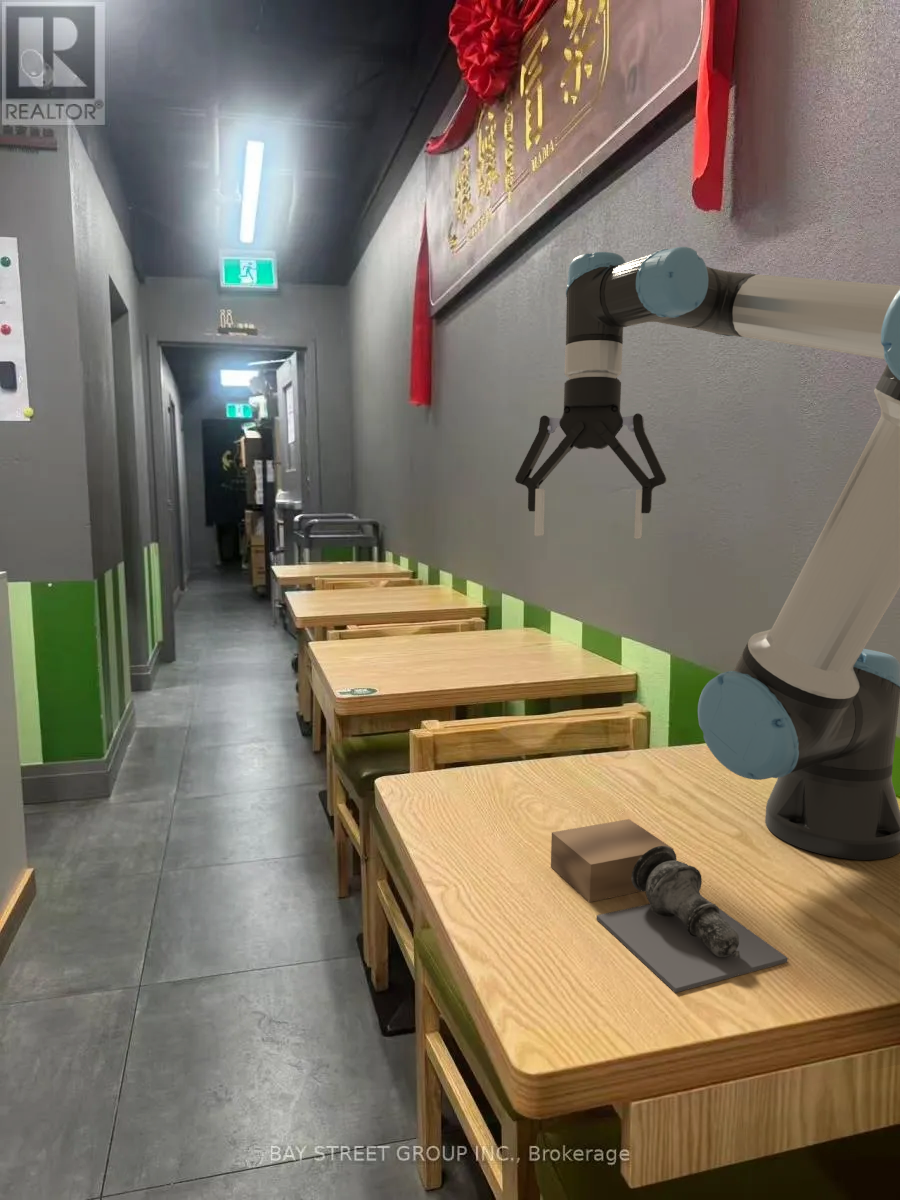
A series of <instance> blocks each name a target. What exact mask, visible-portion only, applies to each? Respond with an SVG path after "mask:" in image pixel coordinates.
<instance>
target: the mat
mask: <svg viewBox="0 0 900 1200" xmlns="http://www.w3.org/2000/svg"><path fill="white" fill-rule="evenodd" d="M705 899H706V900H707V901H708V902H709V903H712V902H711V901H709V900H708V899H707V898H705ZM719 915H720V916H721V917H722V918H723V919H724V920H725V921H726V922H727V923H728V924H729V925H730V926H731V927H732V928H733V929H734V930H735V931H736V932H737V934H738V936H739V945H738V948H737V950H736V951H739V954H740V958H736V957H733V954H732V955H730V956H727V957H718V956H716V955H715V954H714V953H712V951H711V950H710V949H709V948H708V947H707V946H706V945H705V944H704V943H703V942H702V941H701V940H700V939H699V937H698V936H696V937H695V936H692V935H690V934H689V933H688V931H687V926H686V925H685V924H684V923H683V921H682V920H681V919H680V918H679V917H678V916H673V917H669V918H662V917H658V916H657V915H655V914H654V913H653V911H652V909H651V905H650V903H647V904H641V905H638V906H633V907H629V908H624V909H620V910H615V911H611V912H606V913H601V914H597V915H596V921H598V922H599V923H600V924H601V925H602V926H603V927H604V928H605V929H606V930H607V931H608V932H609V933H610V934H612V935H613V936H614V938H616V939H617V940H618V942H619V941H620V943H621V944H623V945H624V947H626V949H628V950H629V951H630V952H631V953H632V954H633V955H634V956H635V957H636V958H637V959H638V960H640V961H641V962H642V963H643V964H644V965H645V967H647V968H648V969H649V970H651V971H652V973H653V974H654V975H656V977H658V978H659V979H660V980H661V981H662V982H663V983H664V984H665V985H666V986H667V987H669V989H670V990H672V991H673V992H674V993H680V992H684V991H687V990H691V989H694V988H698V987H702V986H705V985H708V984H712V983H716V982H720V981H724V980H727V979H730V978H735V977H738V976H741V975H745V974H749V973H752V972H753V973H754V972H757V971H759V970H760V971H761V970H764V969H767V968H771V967H774V966H778V965H782V964H785V963H788V961H789V958H788V957H787V956H786V955H784V954H783V953H782V952H780V951H779V950H778V949H776V948H775V947H774V946H772V945H771V944H769V943H768V942H766V941H765V940H764V939H762V937H759V935H757V934H755V933H754V932H753V931H751V930H750V929H748V928H747V927H745V926H744V925H743V924H742V923H740V922H739V921H738V920H736V919H734V918H733V917H732V916H731V915H729V914H728V913H726V912H725V911H723V910H722V909H721V908H719Z"/></svg>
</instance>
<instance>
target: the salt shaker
mask: <svg viewBox="0 0 900 1200" xmlns="http://www.w3.org/2000/svg"><path fill="white" fill-rule="evenodd" d="M670 847H671V846H670ZM670 847H667V846H658V847H654V848H652V849H650V850H649V851H647V852H646V853H645V854H643V855H642V856H641V858H640V859H639V860H638V861H637V863H636V864H635V866H634V868H633V871H632V876H631V880H632V884H633V886H634V887H635V888H636V889H637V890H639V891H640V892H645V896H646V897H647V901H648V904H650V905H651V909H652V911H653V913H654V914H655V915H657V916H658V917H662V918H669V917H673V916H678V917H679V918H680V919H681V920H682V921H683V923H684V924H685V925H686V926H687V931H688V933H689V934H690V935H692V936H695V937H696V936H698V937H699V939H700V940H701V941H702V942H703V943H704V944H705V945H706V946H707V947H708V948H709V949H710V950H711V951H712V953H714V954H715V955H716V956H718V957H727V956H730V955H732V954H733V957H736V958H740V954H739V951H736V950H737V948H738V945H739V936H738V934H737V932H736V931H735V930H734V929H733V928H732V927H731V926H730V925H729V924H728V923H727V922H726V921H725V920H724V919H723V918H722V917H721V916H720V915H719V909H720V908H719V907H718V906H717V905H716V904H715V903H713V902H711V903H709V902H708V901H709V900H708V899H707V898H705V897H704V896H703V895H702V894H701V889H702V883H703V879H702V874H701V872H700V870H699V869H698V868H697V867H695V866H692V865H688V864H687V863H685V862H682V861H680V860H677V854H676V852H675V850H674V849H673V850H672V849H671V848H670ZM706 899H707V900H708V901H707V900H706Z"/></svg>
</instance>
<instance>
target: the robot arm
mask: <svg viewBox="0 0 900 1200" xmlns="http://www.w3.org/2000/svg"><path fill="white" fill-rule="evenodd" d="M567 274H568V275H567V285H566V289H565V296H566V311H565V312H566V313H565V314H566V315H565V316H566V317H565V319H566V320H565V321H566V323H565V324H566V325H565V348H564V349H565V351H564V352H565V353H564V375H565V377H567V378H568V379H567V380H566V381H565V382H564V385H563V386H564V388H563V389H564V390H563V392H564V393H563V413H562V415H561V417H550V416H547V415H542V416H541V417H540V418H539V425H538V430H537V431H538V432H537V434H536V436H535V437H534V440H533V442H532V444H531V446H530V448H529V450H528V451H527V453H526V456H525V457H524V460H523V462H522V464H521V465H520V468H519V469H518V471H517V474H516V475H515V478H514V479H515V483H516V484H520V485H522V486H525V487H526V488H527V490H528V491H527V499H528V500H527V509H528V512H534V532H533V533H534V534H533V535H534V537H542V536H544V535H545V534H544V533H545V531H544V530H545V499H546V498H545V497H546V496H545V495H546V490H545V488H540V487H541V485H542V484H543V482H545V480H546V479H547V478H549V477H548V476H549V475H551V473H552V472H553V471H554V470H555V468H556V467H558V466H559V464H560V462H562V460H563V459H564V458H565V457H566V455H567V454H568V453H570V452H571V450H572V449H574V448H576V449H578V450H589V449H595V450H604V449H605V448H607V447H609V448H610V449H611V451H613V453H614V454H615V455H616V456H617V457H618V459H619V460H620V461H621V462H622V464H623V465H624V466H625V467H626V469H627V470H628V471H629V472H630V473H631V475H632V476H633V477H634V478H635V479H636V481H637V482H638V483H639V484H640V486H641V489H635V507H634V509H635V510H634V511H635V513H634V532H633V533H634V534H633V539H638V540H640V539H642V536H643V535H642V534H643V517H644V516H643V515H644V514H650V513H651V511H652V497H653V490H654V489H655V488H656V487H659V486H661V485H664V484H666V483H667V476H666V474H665V473H664V470H663V468H662V466H661V463H660V462H659V460H658V458H657V454H656V453H655V451H654V449H653V446H652V444H651V442H650V440H649V439H648V438H649V437H648V436H647V434H646V431H645V430H646V429H645V419H644V416H643V415H642V414H641V413H638V412H637V413H635V414H634V415H629V416H622V414H621V394H622V393H621V392H622V382H621V380H620V379H618V377H619V376H621V374H622V373H623V372H622V367H623V364H622V363H623V343H624V341H623V339H624V338H623V337H624V328H627V327H631V326H635V325H640V324H645V323H659V324H666V325H671V326H676V327H681V328H687V329H693V330H699V331H703V332H708V333H713V334H716V335H718V336H719V335H720V336H723V337H724V336H725V337H738V338H741V337H743V338H749V339H755V340H761V341H767V342H773V343H780V344H785V345H790V346H791V345H794V346H798V347H799V346H800V347H805V348H812V349H818V350H824V351H830V352H838V353H842V354H850V355H855V356H861V357H869V358H875V359H881V360H884V361H885V363H886V366H885V368H884V369H883V372H882V374H881V376H880V378H879V380H878V382H877V383H876V386H875V387H874V390H873V393H874V395H875V397H876V400H877V403H878V405H879V407H880V418H879V419H878V421H877V423H876V425H875V427H874V430H872V433H871V434H870V437H869V439H868V440H867V442H866V444H865V447H864V449H863V450H862V452H861V455H860V457H859V458H858V460H857V462H856V464H855V466H854V468H853V470H852V471H851V474H850V476H849V478H848V480H847V482H846V483H845V486H844V487H843V489H842V490H841V493H840V495H839V497H838V498H837V501H836V503H835V505H834V507H833V509H832V511H831V513H830V514H829V516H828V519H827V520H826V522H825V524H824V526H823V529H822V530H821V532H820V534H819V536H818V538H817V540H816V542H814V543H815V544H814V546H813V547H812V548H811V549H812V550H811V551H810V553H809V556H808V557H807V558H806V561H805V563H804V565H803V566H802V568H801V570H800V573H799V575H798V576H797V579H796V581H795V582H794V585H793V587H792V588H791V590H790V593H789V595H788V596H787V598H786V599H785V602H784V604H783V606H782V607H781V609H780V612H779V614H778V616H777V618H776V620H775V621H774V623H773V625H772V627H771V628H770V629H768V630H764V631H760V632H756V633H754V634H752V635H751V636H750V638H749V639H748V640H747V643H746V646H745V647H744V649H743V651H742V653H741V654H740V657H739V659H738V660H737V663H736V665H735V667H734V668H733V670H728V671H724V672H720V673H719V674H718V675H716V676H715V677H713V678H712V679H710V680H709V681H708V682H707V683H706V684H705V686H703V689H702V690H701V694H700V695H699V699H698V703H697V718H698V719H697V720H698V725H699V728H700V730H701V731H702V733H703V740H704V742H705V744H706V746H707V748H708V749H709V751H710V752H711V754H712V756H714V757H715V758H716V760H717V761H718V762H719V763H720V764H721V765H722V766H724V767H725V768H726V769H727V770H729V771H730V772H732V773H733V774H735V775H737V776H739V777H741V778H745V779H749V780H757V781H758V780H767V779H776V781H775V784H774V785H773V788H772V790H771V793H770V795H769V797H768V799H767V801H766V806H765V815H764V816H765V817H764V818H765V819H764V823H765V826H766V827H767V829H768V830H769V831H770V832H771V833H772V834H774V835H775V836H776V837H777V838H779V839H781V840H782V841H784V842H786V843H788V844H790V845H793V846H794V847H797V848H800V849H803V850H806V851H808V852H812V853H815V854H819V855H824V856H828V857H833V858H838V859H840V858H841V859H847V860H859V861H860V860H863V861H867V860H869V861H871V860H872V861H873V860H881V859H887V858H890V857H893V856H895V855H898V854H899V853H900V807H899V802H898V799H897V795H896V791H895V789H894V788H895V787H894V784H893V768H894V767H893V765H894V755H895V748H896V747H895V745H896V735H897V725H898V716H899V715H898V714H899V707H900V706H899V705H900V661H899V660H898V659H897V658H896V656H893V655H892V654H889V653H886V652H881V651H878V650H874V649H867V648H865V647H866V645H867V644H868V642H869V641H870V639H871V637H872V636H873V634H874V632H875V630H876V628H877V627H878V625H879V624H880V621H882V618H883V616H884V614H885V613H886V612H887V610H888V608H889V607H890V605H891V604H892V601H893V600H894V598H895V597H896V595H897V593H898V592H899V589H900V285H898V284H896V285H895V284H884V283H873V282H871V283H869V282H858V281H848V280H847V281H846V280H835V279H833V280H831V279H822V278H821V279H820V278H805V277H795V276H781V275H770V274H769V275H768V274H755V273H748V272H747V273H745V272H737V271H736V272H733V271H726V270H722V269H718V268H711V266H710V267H709V266H707V265H706V262H705V260H704V258H702V257H700V256H699V255H698V252H697V251H696V250H695V249H694V248H691V247H688V246H678V247H672V248H665V249H661V250H659V251H655V252H653V253H651V254H649V255H645V256H643V257H640V258H637V259H633V260H631V261H628V262H626V260H625V258H624V257H623V256H622V255H620V254H619V253H615V252H611V251H595V252H593V253H583V254H580V255H578V256H576V257H575V258H573V259H572V261H571V262H570V264H569V267H568V272H567ZM624 426H626V427H627V429H628V431H630V432H631V433H634V436H635V438H636V441H637V442H638V445H639V447H640V450H641V451H642V453H643V456H644V458H645V460H646V463H647V464H648V467H649V468H650V471H651V473H652V474H653V477H651V478H649V477H648V475H647V474H646V473H645V472H644V470H642V468H641V467H640V466H639V465H638V463H637V462H636V461H635V459H633V457H632V456H631V455H630V453H629V452H628V451H627V450H626V449H625V447H624V446H623V444H622V443H621V442H620V441H619V440H618V439H617V437H616V436H617V434H618V433H619V432H620V431H621V429H622V428H623V427H624ZM558 427H560V428H561V430H562V431H563V433H564V435H565V436H564V437H563V439H562V440H561V441H560V443H559V444H558V445H557V447H556V448H555V449H554V450H553V452H552V453H551V454H550V455H549V456H548V458H547V459H546V460H545V461H544V462H543V463H542V464H541V466H540V467H539V468H538V469H537V471H535V473H534V474H533V475H532V476H531V474H532V472H533V471H534V468H535V467H536V464H537V463H538V460H539V458H540V456H541V455H542V453H543V450H544V448H545V447H546V444H547V442H548V441H549V438H550V435H551V434H554V433H555V432H556V430H557V428H558ZM530 476H531V477H530Z"/></svg>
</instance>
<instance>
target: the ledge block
mask: <svg viewBox="0 0 900 1200" xmlns="http://www.w3.org/2000/svg"><path fill="white" fill-rule="evenodd" d="M658 846H667V847H670V848H671V849H672V850H674V848H673V847H672V846H670V845H669V844H668V843H665V842H664V841H662V839H660V838H659V837H657V836H655V835H654V834H652V833H651V832H649V831H648V830H647V829H645V828H644V827H642V826H640V825H639V824H637V823H636V822H634V821H633V820H631V819H630V818H628V819H622V820H616V821H609V822H604V823H597V824H592V825H588V826H587V825H586V826H581V827H576V828H575V827H574V828H569V829H564V830H557V831H551V847H550V849H551V851H550V868H551V869H553V870H554V871H555V873H557V874H558V875H559V876H560V877H561V878H562V879H564V880H565V881H566V882H567V883H568V884H569V885H570V886H571V887H572V888H574V890H576V892H577V893H579V895H581V897H583V898H584V899H585V900H586V901H587V902H589V903H593V902H596V901H601V900H602V901H603V900H606V899H607V900H608V899H611V898H617V897H620V896H626V895H629V894H630V895H631V894H635V893H639V892H641V891H639V890H637V889H636V888H635V887H634V886H633V884H632V880H631V876H632V871H633V868H634V866H635V864H636V863H637V861H638V860H639V859H640V858H641V856H642V855H643V854H645V853H646V852H647V851H649V850H650V849H652V848H654V847H658Z"/></svg>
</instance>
